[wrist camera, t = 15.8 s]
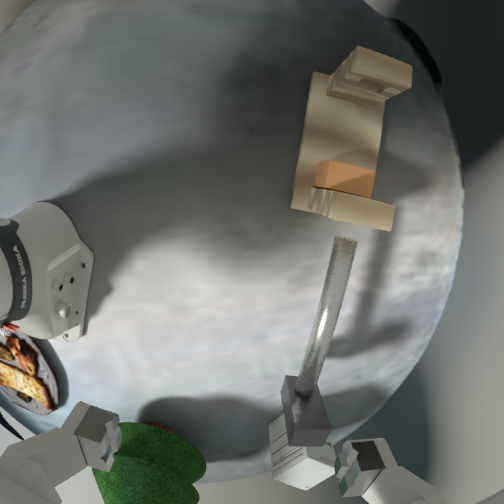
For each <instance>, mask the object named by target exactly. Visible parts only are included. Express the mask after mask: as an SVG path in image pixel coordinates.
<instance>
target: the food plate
mask: <svg viewBox="0 0 504 504" xmlns="http://www.w3.org/2000/svg"><path fill="white" fill-rule="evenodd" d="M0 330H2V331H3V330H5V332H6V331H7V332H6V334H7V333H8V332H9V333H8V334H7V335H5V332H4V331H3V333H4V336H5V337H4V336H2V335H1V334H0V337H2V338H1V340H0V391H1V392H2V393H4V394H5V395H6V396H7V397H8V398H9V399H10V400H12V402H13V403H14V402H15V404H17V405H18V406H20V407H22V408H24V409H27V410H29V411H30V410H31V412H34V413H36V414H40V415H47V414H49V413H51V412H53V411H55V410H57V406H58V404H59V390H58V382H57V380H56V377H55V375H54V372H53V371H52V369H51V367H50V366H49V364H48V363H47V361H46V359H45V357H44V354H43V353H42V351H41V349H39V347H38V345H37V344H36V343H35V341H34V343H33V342H32V340H33V339H32V338H31V336H29V335H27V334H24V333H22V332H20V331H19V330H17V329H15V330H16V332H15V331H11V330H8V329H6V328H4V329H3V328H2V329H0ZM1 359H3V360H1ZM4 360H7V361H4Z"/></svg>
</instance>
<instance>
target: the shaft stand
mask: <svg viewBox="0 0 504 504" xmlns="http://www.w3.org/2000/svg"><path fill="white" fill-rule="evenodd" d="M411 87H412V66H411V65H408V64H406V63H404V62H401V61H399V60H396V59H394V58H391V57H389V56H386V55H383V54H381V53H378V52H375V51H372V50H369V49H366V48H363V47H360V46H357V47H356V48H355V49H354V50H353V51H352V52H351V54H350V55H349V56H348V57H347V58H346V59H345V60H344V62H343V63H342V64H341V65H340V66H339V67H338V68H337V70H336V71H335V72H334V73H333V74H332V75H327V74H323V73H319V72H315V71H314V72H313V74H312V76H311V82H310V89H309V95H308V102H307V108H306V114H305V120H304V127H303V133H302V139H301V145H300V150H299V156H298V162H297V168H296V174H295V179H294V185H293V190H292V196H291V201H290V207H289V208H291V209H296V210H301V211H307V212H312V213H317V214H322V215H324V216H326V217H328V218H330V219H332V220H337V221H342V222H347V223H352V224H357V225H362V226H366V227H371V228H376V229H380V230H385V231H390V232H391V229H392V224H393V220H394V215H395V210H396V205H392V204H388V203H384V202H380V201H376V200H372V199H371V198H368V197H363V196H357V195H352V194H348V193H343V192H339V191H334V190H330V189H325V188H320V187H316V186H314V184H315V179H316V173H317V167H318V162H322V161H327V160H333V161H337V162H341V163H346V164H350V165H353V166H357V167H361V168H365V169H369V170H372V171H376V167H377V161H378V154H379V147H380V140H381V133H382V125H383V116H384V107H385V100H387V99H389V98H391V97H393V96H395V95H397V94H399V93H401V92H403V91H405V90H407V89H409V88H411Z"/></svg>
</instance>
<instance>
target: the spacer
mask: <svg viewBox="0 0 504 504" xmlns="http://www.w3.org/2000/svg"><path fill="white" fill-rule="evenodd" d="M375 175H376V171H372V170H369V169H365V168H361V167H357V166H353V165H350V164H346V163H341V162H337V161H333V160H327V161H322V162H318V167H317V173H316V179H315V184H314V186H316V187H320V188H325V189H330V190H334V191H339V192H343V193H348V194H352V195H357V196H363V197H368V198H371V197H372V192H373V186H374V180H375Z"/></svg>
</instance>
